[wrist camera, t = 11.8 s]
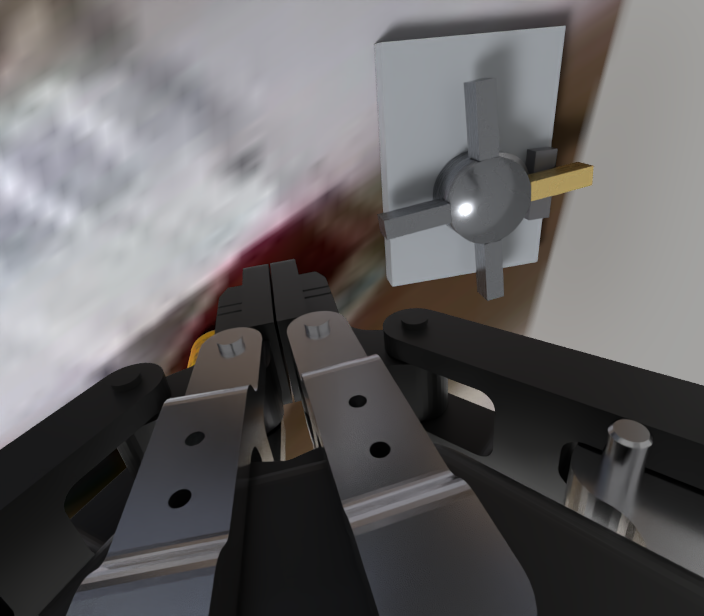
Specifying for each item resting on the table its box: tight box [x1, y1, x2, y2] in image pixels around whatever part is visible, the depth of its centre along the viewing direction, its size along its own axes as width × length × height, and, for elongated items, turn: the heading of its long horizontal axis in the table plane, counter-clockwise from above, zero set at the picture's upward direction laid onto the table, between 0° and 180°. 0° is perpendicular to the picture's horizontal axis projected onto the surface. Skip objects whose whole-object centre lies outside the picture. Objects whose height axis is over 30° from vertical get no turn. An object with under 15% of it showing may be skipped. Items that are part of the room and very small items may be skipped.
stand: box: [374, 26, 566, 286], centre depth 38 cm, size 20×15×4 cm
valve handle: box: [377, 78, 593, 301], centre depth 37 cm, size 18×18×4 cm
